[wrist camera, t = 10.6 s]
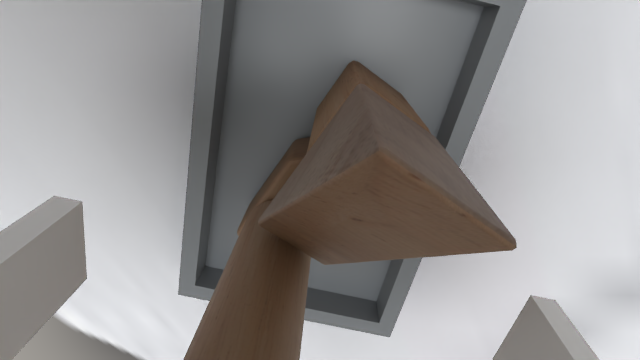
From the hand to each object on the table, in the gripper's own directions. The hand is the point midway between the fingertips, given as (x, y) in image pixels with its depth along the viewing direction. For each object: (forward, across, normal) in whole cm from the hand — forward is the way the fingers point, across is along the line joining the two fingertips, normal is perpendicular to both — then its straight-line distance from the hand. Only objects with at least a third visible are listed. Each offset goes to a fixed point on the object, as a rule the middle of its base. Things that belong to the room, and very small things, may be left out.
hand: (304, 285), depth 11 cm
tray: (+13, 0, 0) cm, 13 cm away
